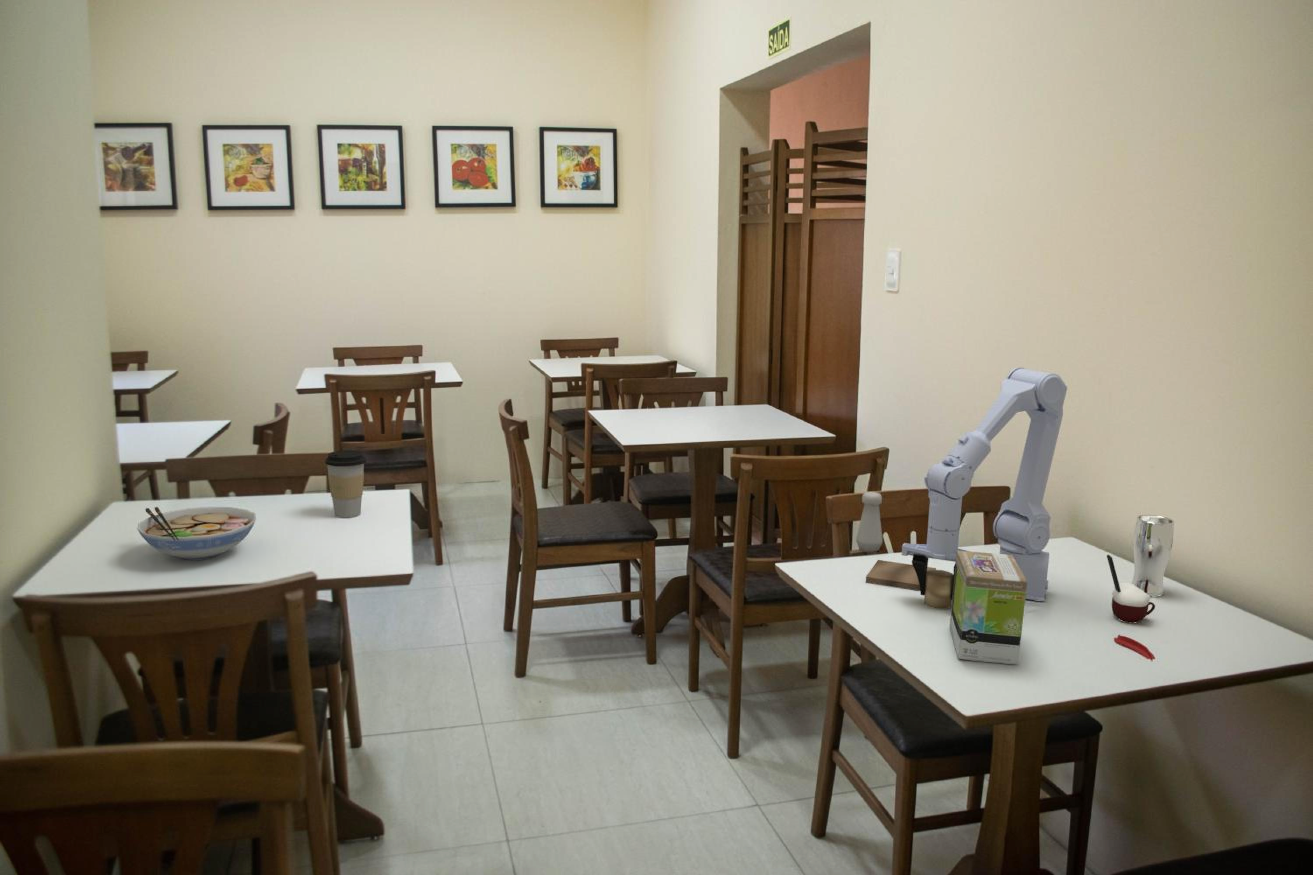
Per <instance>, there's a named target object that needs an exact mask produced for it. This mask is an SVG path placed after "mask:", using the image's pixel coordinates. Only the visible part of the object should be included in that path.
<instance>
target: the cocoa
mask: <svg viewBox="0 0 1313 875" xmlns="http://www.w3.org/2000/svg"><path fill="white" fill-rule="evenodd" d="M1106 560H1107V562H1108V567H1109V570H1110V573H1111V577H1112V580H1113V585H1114V587H1113V590H1112V592H1111V594H1112V597H1111V609H1112V614H1113V615H1114V616H1115V617H1116V618H1117V619H1118V620H1119V619H1120V620H1119V621H1121V620H1122V622H1124V621H1125V622H1124V623H1129V622H1131V624H1135V623H1134V622H1137V623H1139V622H1141V621H1144V619H1145V618H1146V617H1147V616H1149V615H1150V614H1152V613H1153V612H1154V610H1155V608H1156V604H1155V603H1154V602H1152V601H1150V599H1151V597H1150V596H1149V595H1148V594H1146V593H1145V592H1144V591H1143V590H1141V589H1139V588H1138V587H1136V586H1135V585H1133V584H1131V583H1132V582H1119V579H1118V575H1117V570H1116V567H1115V564H1114V563H1115V562H1114V560H1113V557H1112V556H1111V555H1110V554H1107V555H1106ZM1149 606H1151V608H1150V609H1149Z"/></svg>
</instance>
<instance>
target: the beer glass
mask: <svg viewBox="0 0 1313 875" xmlns="http://www.w3.org/2000/svg"><path fill="white" fill-rule="evenodd" d="M1174 524H1175V520H1173V519H1171V518H1169V517H1166V516H1161V515H1154V514H1140V515H1138V516H1137V518H1136V523H1135V528H1134V532H1133V534H1134V535H1133V539H1132V540H1133V542H1132V546H1133V549H1132V550H1133V564H1134V569H1133V570H1134V571H1133V573H1134V574H1133V578H1132V581H1131V582H1130V583H1131V584H1133V585H1135V586H1136V587H1138V588H1139V589H1141V590H1143V591H1144V592H1145V593H1146V594H1148V595H1149V596H1158V595H1161V594H1163V593H1164V594H1165V592H1164V591H1165V590H1164V576H1165V571H1166V568H1167V565H1168V563H1169V559H1170V556H1171V553H1172V548H1173V544H1174V532H1175V531H1174V530H1175V529H1174V528H1175V525H1174ZM1164 594H1163V595H1164Z"/></svg>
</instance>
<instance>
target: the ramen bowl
mask: <svg viewBox="0 0 1313 875" xmlns="http://www.w3.org/2000/svg"><path fill="white" fill-rule="evenodd" d="M154 511H155V513H156V515H155V513H153V511H152V510H151V509H150V508H149V507H145V513H147V514H148V515H149V517H147V518H145V519H144V520H142V521H140V522H139V523H138V525H137V529H136V530H137V532H138V533H139V535H140V536H141V537H142V538H143V540H144V541H145V542H147V544H149V545H150V546H151V547H152V548H153V549H155V550H157V551H158V552H160V553H162V554H165V555H168V556H170V557H171V556H172V557H177V558H182V559H183V560H188V561H189V560H190V561H201V560H206V559H207V560H208V559H212V558H214V557H217V556H218V555H220V554H222V553H224V552H227V551H229V550H232V549H233V548H235V547H236V546H237V545H238V544H240V543H242V542H243V541H244V540H245V538H246V537H247V536H248V535H249V533H250V532H251V531H252V529H253V527H254V525H255V522H256V520H257V517H256V513H255V512H252V511H250V510H248V509H244V508H238V507H232V506H204V507H190V508H183V509H177V510H172V511H167V512H166V511H165V512H161V510H160V508H159V507H158V506H155V507H154Z"/></svg>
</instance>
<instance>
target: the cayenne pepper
mask: <svg viewBox="0 0 1313 875" xmlns="http://www.w3.org/2000/svg"><path fill="white" fill-rule="evenodd" d="M1113 641H1114V642H1115V643H1116V644H1117V645H1119V646H1121V647H1124V648H1127V649H1129V650H1131V651H1133V652H1135V653H1137V654H1139V655H1141V656H1142V657H1144V658H1145V659H1147V660H1150V661H1151V662H1153V660H1155V659H1156V657H1155V655H1154V654H1153V652H1152V651H1150V649H1149V648H1148V647H1147V646H1145V645H1144V644H1142V643H1140V642H1139V641H1137V640H1135V639H1133V638H1130V637H1128V636H1125V635H1120V634H1118V635H1117V637H1113Z"/></svg>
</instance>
